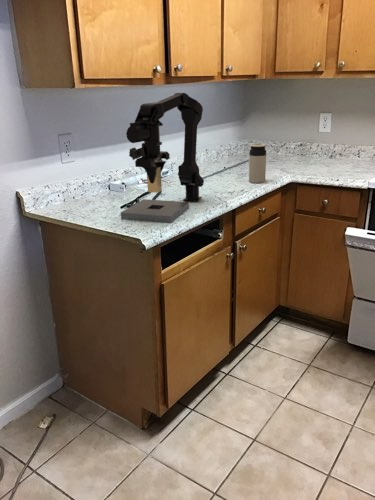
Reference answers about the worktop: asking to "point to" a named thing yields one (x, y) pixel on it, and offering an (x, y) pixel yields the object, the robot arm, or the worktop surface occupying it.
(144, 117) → the robot arm
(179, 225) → the worktop surface
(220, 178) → the worktop surface
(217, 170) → the worktop surface
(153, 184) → the brass peg
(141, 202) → the post plate
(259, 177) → the travel mug
